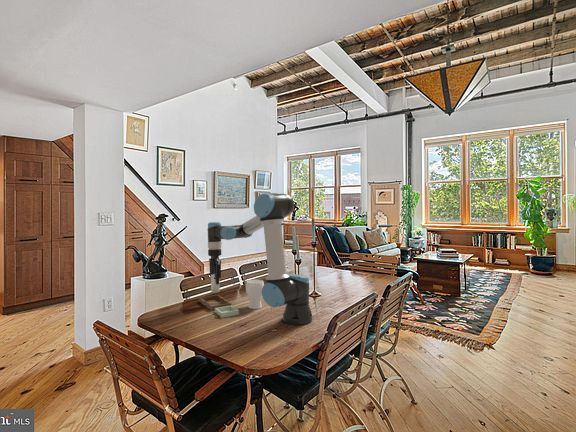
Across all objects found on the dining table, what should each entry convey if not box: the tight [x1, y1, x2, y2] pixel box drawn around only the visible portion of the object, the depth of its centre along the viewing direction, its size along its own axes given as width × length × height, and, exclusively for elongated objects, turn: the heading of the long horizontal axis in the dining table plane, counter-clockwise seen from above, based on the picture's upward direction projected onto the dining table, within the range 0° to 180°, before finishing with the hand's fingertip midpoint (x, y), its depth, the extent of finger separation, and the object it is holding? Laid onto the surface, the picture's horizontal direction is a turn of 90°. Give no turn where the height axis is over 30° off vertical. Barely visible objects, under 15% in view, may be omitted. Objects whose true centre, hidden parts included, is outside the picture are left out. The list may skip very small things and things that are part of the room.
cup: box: [245, 279, 265, 310], centre depth 193 cm, size 11×11×15 cm
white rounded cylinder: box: [210, 274, 221, 294], centre depth 196 cm, size 5×5×10 cm
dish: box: [214, 304, 240, 319], centre depth 181 cm, size 10×10×2 cm
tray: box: [198, 294, 232, 312], centre depth 197 cm, size 21×12×3 cm, turn 32°
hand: (215, 288), depth 196 cm, fingers closed on white rounded cylinder, 5 cm apart
